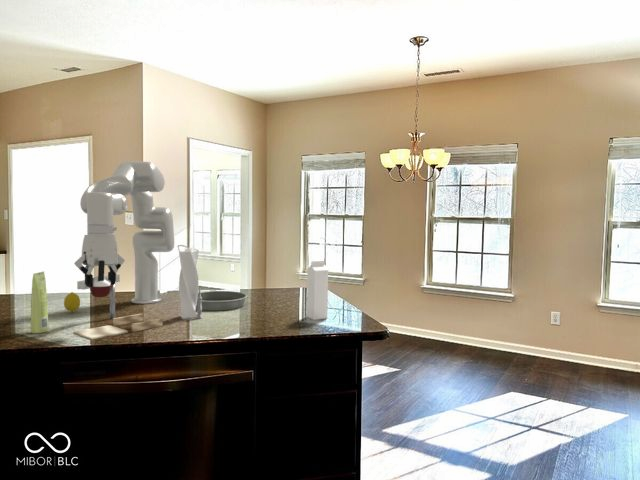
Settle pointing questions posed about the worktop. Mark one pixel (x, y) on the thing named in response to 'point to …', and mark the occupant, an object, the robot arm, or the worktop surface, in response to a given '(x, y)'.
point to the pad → (100, 332)
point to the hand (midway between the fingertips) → (100, 284)
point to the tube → (39, 304)
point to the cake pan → (221, 300)
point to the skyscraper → (189, 285)
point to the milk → (317, 290)
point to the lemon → (72, 302)
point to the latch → (112, 293)
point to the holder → (136, 319)
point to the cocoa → (100, 283)
